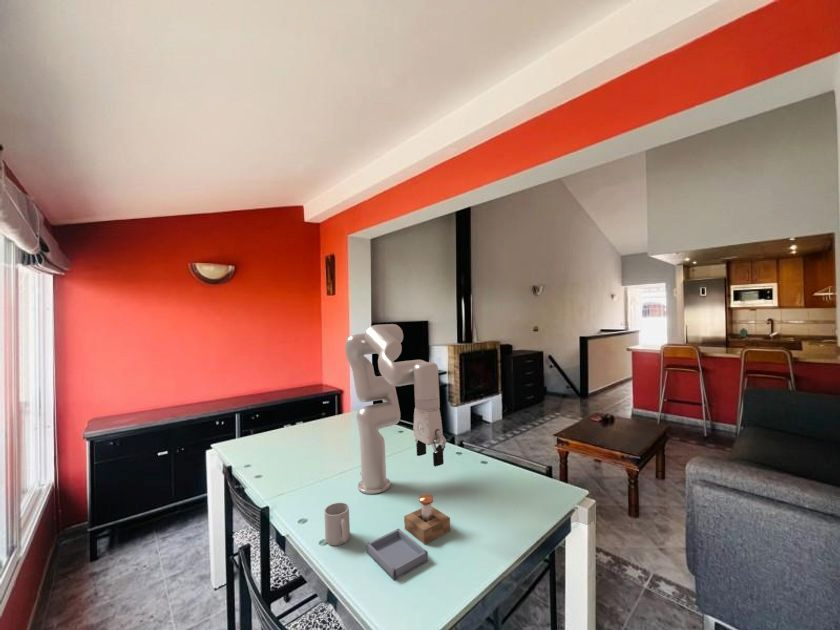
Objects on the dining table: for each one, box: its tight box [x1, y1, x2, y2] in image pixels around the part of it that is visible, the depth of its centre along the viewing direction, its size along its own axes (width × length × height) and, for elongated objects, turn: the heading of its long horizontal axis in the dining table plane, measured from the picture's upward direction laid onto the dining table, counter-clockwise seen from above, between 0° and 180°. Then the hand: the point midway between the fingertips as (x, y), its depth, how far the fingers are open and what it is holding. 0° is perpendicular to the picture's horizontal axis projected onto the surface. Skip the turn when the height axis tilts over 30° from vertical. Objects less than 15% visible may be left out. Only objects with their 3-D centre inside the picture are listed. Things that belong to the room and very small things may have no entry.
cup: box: [323, 502, 351, 547], centre depth 106 cm, size 7×10×9 cm
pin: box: [418, 493, 434, 522], centre depth 110 cm, size 4×4×10 cm
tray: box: [365, 528, 429, 581], centre depth 98 cm, size 14×11×2 cm
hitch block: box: [403, 505, 451, 545], centre depth 110 cm, size 10×10×4 cm
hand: (429, 459), depth 108 cm, fingers open, 9 cm apart
